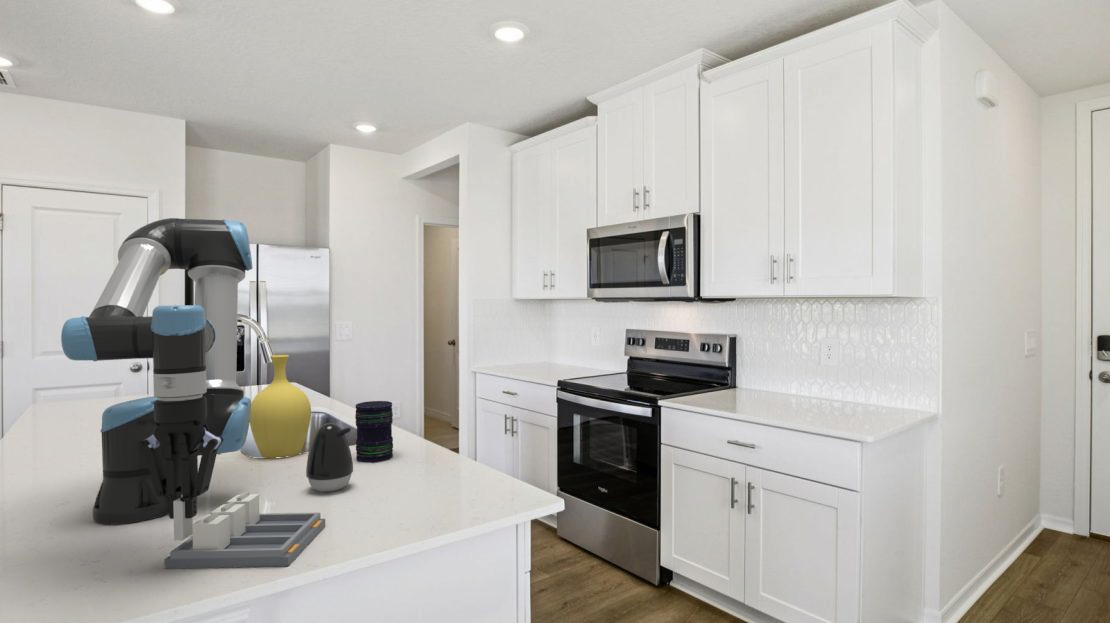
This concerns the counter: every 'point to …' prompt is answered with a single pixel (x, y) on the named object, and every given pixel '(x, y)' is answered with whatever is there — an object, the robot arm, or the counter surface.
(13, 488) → the counter surface
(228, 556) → the switch bank
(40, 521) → the counter surface
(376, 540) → the counter surface
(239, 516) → the tab
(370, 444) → the storage jar
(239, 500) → the tab
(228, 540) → the tab
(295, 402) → the vase
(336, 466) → the pump dispenser
